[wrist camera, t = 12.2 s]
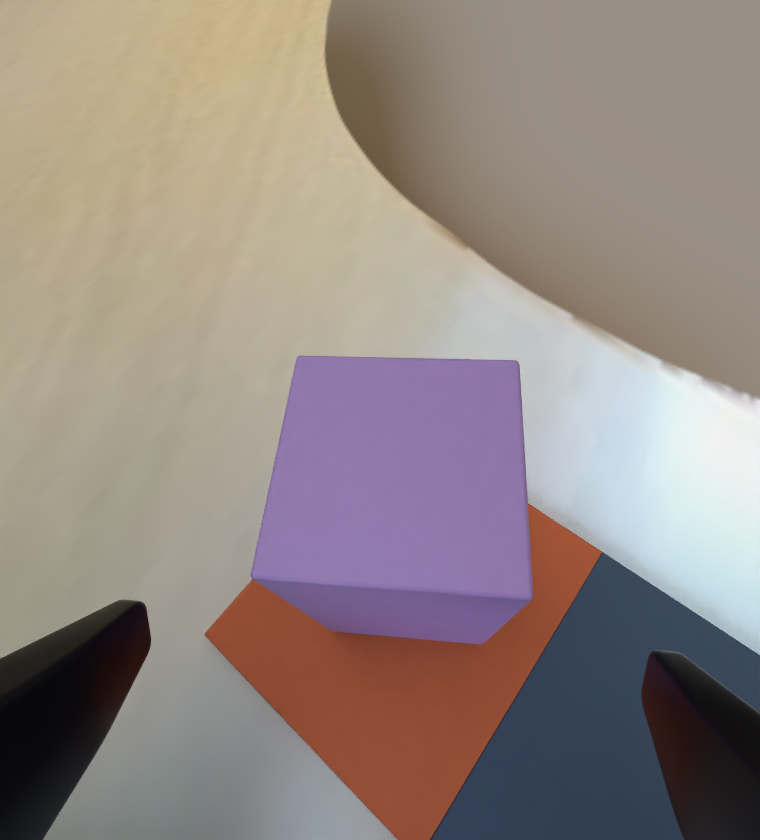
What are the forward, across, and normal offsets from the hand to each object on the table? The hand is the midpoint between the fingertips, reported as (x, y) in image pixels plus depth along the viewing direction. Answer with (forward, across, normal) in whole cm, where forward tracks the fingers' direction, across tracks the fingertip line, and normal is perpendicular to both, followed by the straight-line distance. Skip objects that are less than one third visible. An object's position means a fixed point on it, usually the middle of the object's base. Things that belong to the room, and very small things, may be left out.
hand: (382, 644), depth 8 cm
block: (+8, 0, +4) cm, 9 cm away
